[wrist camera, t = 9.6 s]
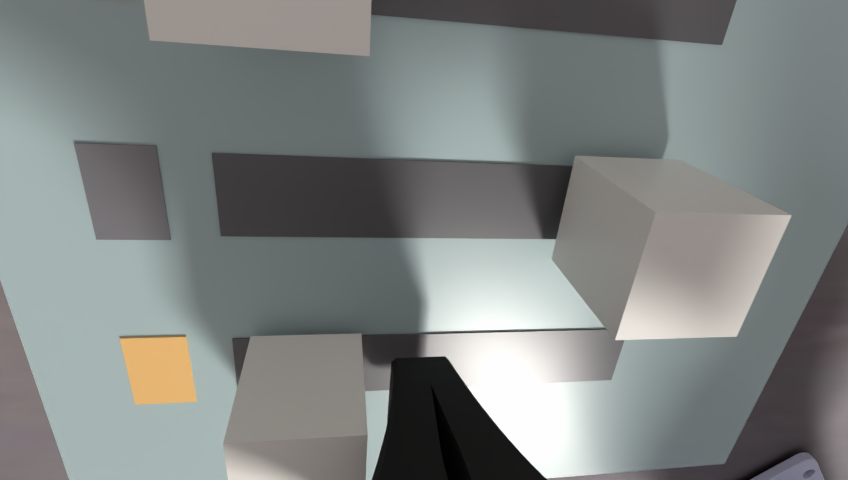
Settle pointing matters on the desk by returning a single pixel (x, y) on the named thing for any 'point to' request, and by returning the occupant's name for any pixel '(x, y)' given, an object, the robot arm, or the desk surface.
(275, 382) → the tab
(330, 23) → the tab
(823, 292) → the desk surface
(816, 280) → the switch board
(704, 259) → the tab
